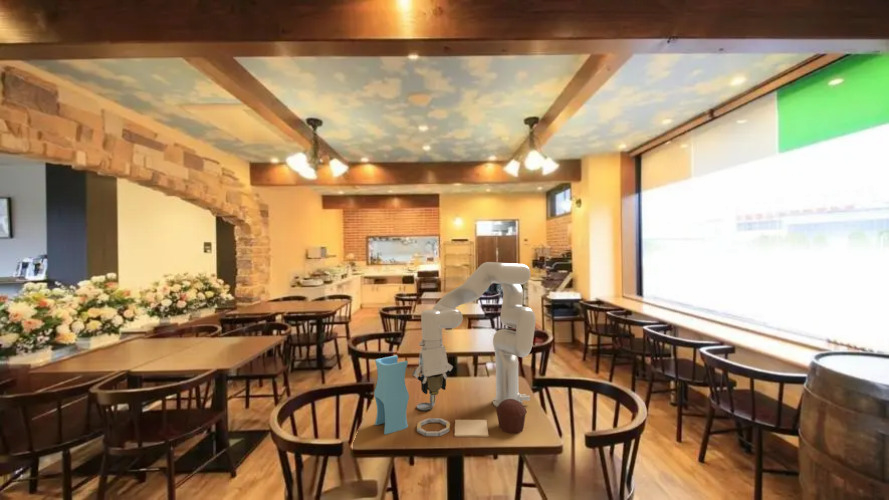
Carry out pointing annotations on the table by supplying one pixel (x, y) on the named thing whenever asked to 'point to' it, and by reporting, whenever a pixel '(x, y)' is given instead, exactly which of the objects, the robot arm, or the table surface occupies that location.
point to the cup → (434, 384)
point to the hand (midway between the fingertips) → (434, 390)
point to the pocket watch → (427, 404)
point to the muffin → (511, 416)
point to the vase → (391, 394)
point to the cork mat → (471, 428)
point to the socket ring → (433, 433)
